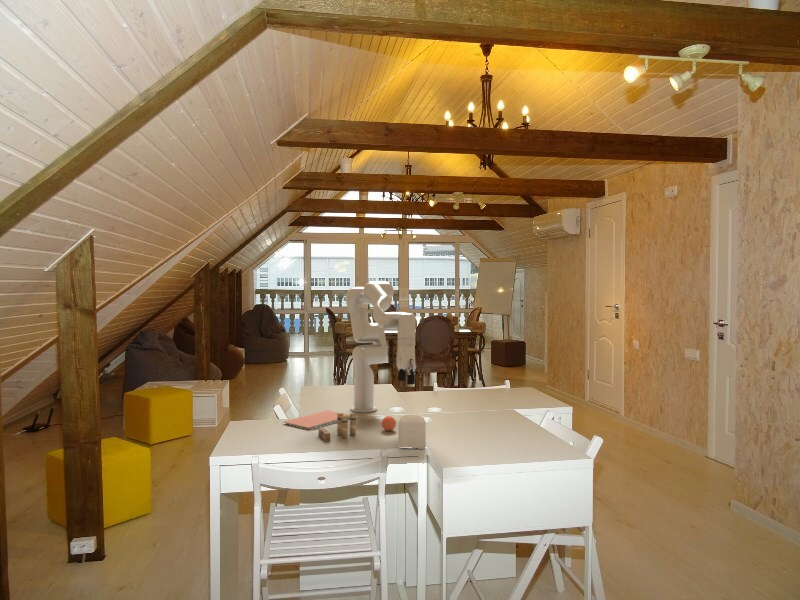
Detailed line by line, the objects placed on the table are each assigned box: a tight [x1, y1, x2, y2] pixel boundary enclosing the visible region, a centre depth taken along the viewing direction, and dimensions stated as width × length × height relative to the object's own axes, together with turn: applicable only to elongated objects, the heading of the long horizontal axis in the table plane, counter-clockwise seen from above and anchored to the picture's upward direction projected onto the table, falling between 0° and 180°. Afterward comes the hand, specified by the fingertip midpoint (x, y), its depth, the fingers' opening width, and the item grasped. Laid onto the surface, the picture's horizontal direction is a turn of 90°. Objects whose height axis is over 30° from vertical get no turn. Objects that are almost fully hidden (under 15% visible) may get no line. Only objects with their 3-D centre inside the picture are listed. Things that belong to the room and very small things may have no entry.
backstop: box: [318, 427, 331, 441], centre depth 212 cm, size 9×2×3 cm, turn 26°
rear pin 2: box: [340, 416, 349, 439], centre depth 213 cm, size 2×2×8 cm
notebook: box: [283, 410, 350, 430], centre depth 238 cm, size 27×17×2 cm, turn 144°
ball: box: [381, 415, 397, 432], centre depth 224 cm, size 6×6×6 cm
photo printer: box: [397, 414, 427, 450], centre depth 200 cm, size 10×4×12 cm, turn 89°
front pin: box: [349, 412, 357, 436], centre depth 217 cm, size 2×2×8 cm
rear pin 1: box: [336, 412, 344, 436], centre depth 217 cm, size 2×2×8 cm
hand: (406, 382), depth 227 cm, fingers open, 9 cm apart
